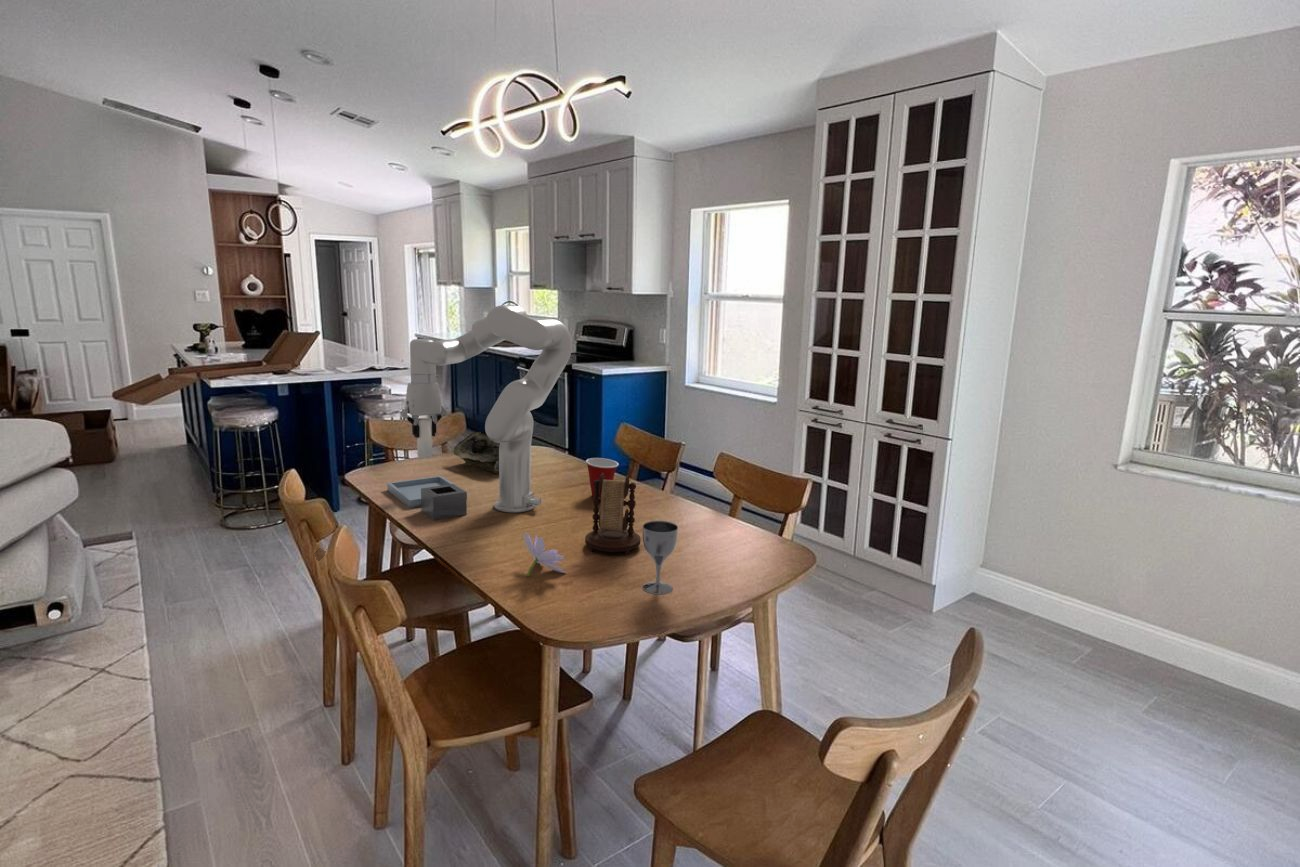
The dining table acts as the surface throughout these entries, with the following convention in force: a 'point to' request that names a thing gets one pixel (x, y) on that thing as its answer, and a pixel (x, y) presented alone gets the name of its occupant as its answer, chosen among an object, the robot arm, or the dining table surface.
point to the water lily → (542, 554)
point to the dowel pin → (424, 438)
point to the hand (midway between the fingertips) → (424, 435)
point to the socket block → (443, 501)
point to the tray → (415, 489)
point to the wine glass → (659, 550)
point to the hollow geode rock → (479, 451)
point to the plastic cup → (600, 470)
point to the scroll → (613, 517)
